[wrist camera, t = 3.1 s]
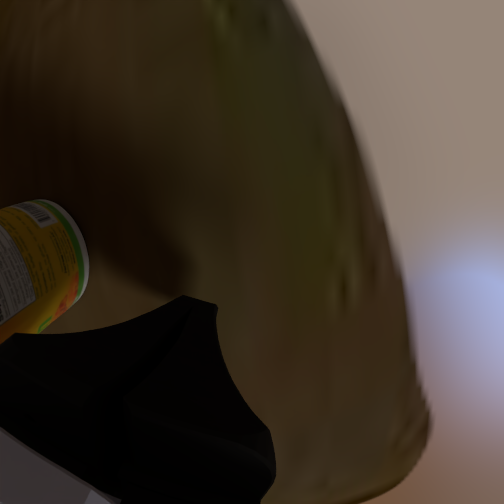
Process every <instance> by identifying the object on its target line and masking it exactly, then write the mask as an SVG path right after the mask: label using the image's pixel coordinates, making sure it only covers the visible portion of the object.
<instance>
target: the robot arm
mask: <svg viewBox="0 0 504 504" xmlns="http://www.w3.org/2000/svg"><path fill="white" fill-rule="evenodd" d="M217 312H218V307H217V305H216V304H213V303H209V302H206V301H202V300H199V299H195V298H192V297H188V296H185V295H182V296H180V297H178V298H176V299H174V300H173V301H171V302H169V303H167V304H165V305H163V306H161V307H159V308H157V309H155V310H153V311H151V312H148V313H146V314H143V315H141V316H138V317H136V318H134V319H131V320H128V321H126V322H123V323H119V324H116V325H112V326H109V327H105V328H100V329H94V330H89V331H83V332H76V333H65V334H30V333H16V332H15V333H14V334H12V335H11V336H10V337H9V338H7V339H6V340H5V341H4V342H3V343H1V344H0V504H260V502H261V499H262V498H263V497H264V495H265V494H266V493H267V491H268V490H269V489H270V487H271V486H272V484H273V483H274V480H275V477H276V460H275V452H274V447H273V442H272V437H271V433H270V430H269V429H268V428H267V427H266V425H265V424H264V423H263V422H262V421H261V420H260V419H259V418H258V417H257V416H256V415H255V414H254V412H253V411H252V410H251V409H250V407H249V406H248V405H247V403H246V402H245V400H244V399H243V397H242V396H241V394H240V392H239V391H238V389H237V387H236V385H235V384H234V382H233V380H232V378H231V376H230V374H229V372H228V369H227V367H226V364H225V362H224V359H223V356H222V352H221V349H220V345H219V340H218V334H217V327H216V316H217Z"/></svg>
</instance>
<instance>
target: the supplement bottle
mask: <svg viewBox="0 0 504 504" xmlns="http://www.w3.org/2000/svg"><path fill="white" fill-rule="evenodd" d="M88 276H89V257H88V252H87V248H86V244H85V241H84V238H83V236H82V234H81V232H80V230H79V228H78V226H77V224H76V223H75V221H74V220H73V218H72V217H71V216H70V215H69V214H68V213H67V212H66V211H65V210H64V209H63V208H62V207H61V206H59V205H58V204H56V203H54V202H52V201H48V200H42V199H38V200H32V201H27V202H23V203H19V204H16V205H12V206H9V207H5V208H2V209H0V344H1V343H3V342H4V341H5V340H6V339H7V338H9V337H10V336H11V335H12V334H14V333H15V332H16V333H30V334H38V333H40V332H41V331H42V330H43V329H44V328H46V327H47V326H48V325H49V324H50V323H52V322H53V321H54V320H55V319H56V318H58V317H59V316H60V315H61V314H62V313H64V312H65V311H66V310H67V309H69V308H70V307H71V306H72V305H73V304H74V303H75V302H77V301H78V299H79V298H80V297H81V296H82V294H83V292H84V290H85V288H86V285H87V281H88Z"/></svg>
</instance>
